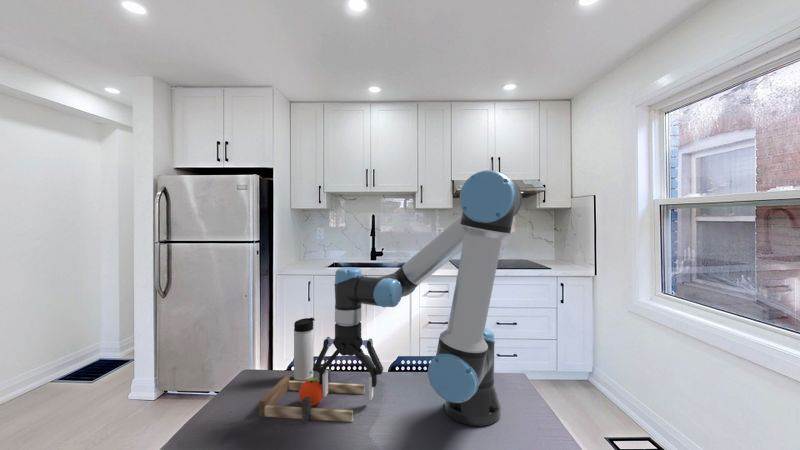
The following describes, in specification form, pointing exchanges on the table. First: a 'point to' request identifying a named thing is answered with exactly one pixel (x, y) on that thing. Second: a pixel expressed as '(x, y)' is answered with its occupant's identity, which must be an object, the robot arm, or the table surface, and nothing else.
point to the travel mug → (303, 349)
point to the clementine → (311, 391)
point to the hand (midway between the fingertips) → (348, 396)
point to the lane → (306, 402)
